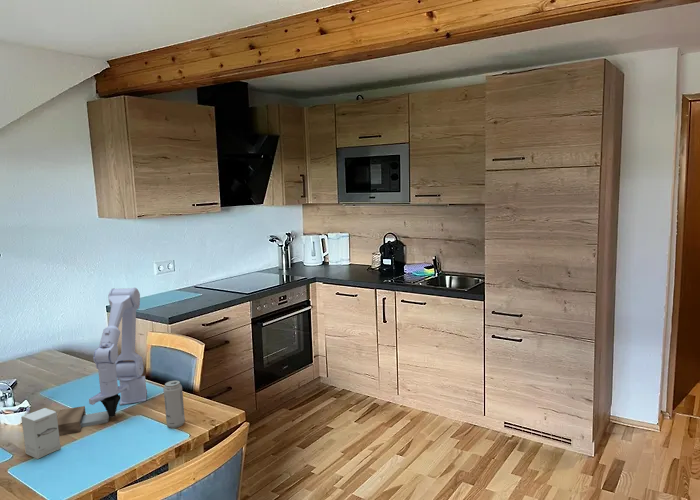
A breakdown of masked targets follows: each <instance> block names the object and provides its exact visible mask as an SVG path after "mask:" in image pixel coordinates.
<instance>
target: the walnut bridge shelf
mask: <svg viewBox="0 0 700 500" xmlns="http://www.w3.org/2000/svg"><path fill="white" fill-rule="evenodd" d="M82 415H87V413H86V406H85V405H83V406H77V407H70V408H64V409H60V410H59V412H58V413H57V421H58V430H59V436H64V435H69V434H74V433H76V434H77V433H80V432H82V431H81V430H82V427H81V425H80V421H81V418H82Z"/></svg>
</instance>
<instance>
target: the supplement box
mask: <svg viewBox="0 0 700 500" xmlns="http://www.w3.org/2000/svg"><path fill="white" fill-rule="evenodd" d="M57 416H58V412H57V411H56V410H52V409H49V408H47V407H43V408H41V409H38V410H35V411H33V412H29V413H27V414H24V415H22V416H21V426H22V431H23V432H22V434H23V440H24V449H25V450H24V452H25V454H26V455H27V456H29V457H32V458H34V459H37V460H39V459H40V458H43V457H45V456H47V455H49V454H52V453H53V452H56V451H59V450H61V442H60V435H59V430H58V421H57Z"/></svg>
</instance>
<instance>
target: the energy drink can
mask: <svg viewBox="0 0 700 500" xmlns="http://www.w3.org/2000/svg"><path fill="white" fill-rule="evenodd" d="M163 396H164V397H163V398H164V409H165V410H164V411H165V420H166V422H165V423H166V426H168V427H169V428H171V429H174V428H175V429H176V428H179V427H182V426H183V425H184V423H185V419H186V418H185V408H184V393H183V386H182V384H181V381H179V380H170V381H167V382H165V383H164V386H163Z"/></svg>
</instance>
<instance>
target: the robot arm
mask: <svg viewBox="0 0 700 500" xmlns="http://www.w3.org/2000/svg"><path fill="white" fill-rule="evenodd" d="M107 298H108V303H109V306H110V311H109V318H108V323H107V326H106V327H105V328H104V329H103V331H102V334H101V338H100V342H99V346H98V348H96V349H95V350H94V352H93V358H92V359H93V363H95V367H96V369H97V372H98V378H99V379H98V380H99V390H100V392H99V393H97V394H95V395H94V396H92V397H90V398H88V404H89V405H92V406H94V405H95V404H97V403H99V402H100V403H101V404H102V405H103V407H104V408H105V411H107V413H108V415H109V418H114V417H116V415H117V409H118V408H117V407H118V405H120V406H124V405H129V404H133V403H134V404H135V403H141V402H146V401H147V395H148V390H147V384H146V376H145V375H143V374H144V370H145V369H144V362H143V357H142V356H141V355H140V354H138V353H137V352H136V332H137V331H136V330H137V329H136V328H137V324H136V323H137V310H138V309H140V305H141V303H140V302H141V294H140V291H139V290H138V288H137V287H131V288H130V287H127V288H123V287H122V288H111V289H110V290H109V292H108V297H107ZM120 324H121V330H120V329H119V327H120ZM120 336H121V345H120V346H121V351H120V354H119V346H118V344H119V340H120V339H119V338H120ZM118 381H119V382H118ZM118 383H119V384H118Z"/></svg>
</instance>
